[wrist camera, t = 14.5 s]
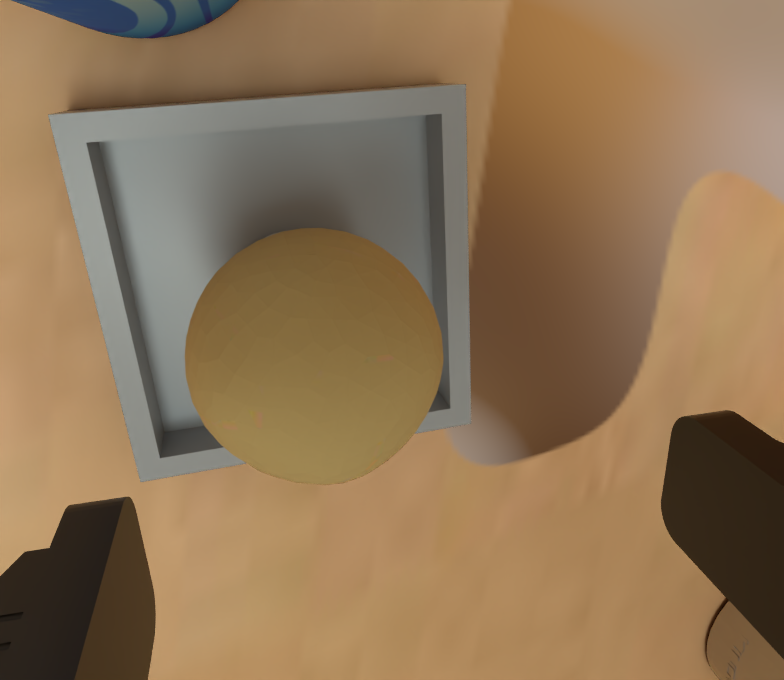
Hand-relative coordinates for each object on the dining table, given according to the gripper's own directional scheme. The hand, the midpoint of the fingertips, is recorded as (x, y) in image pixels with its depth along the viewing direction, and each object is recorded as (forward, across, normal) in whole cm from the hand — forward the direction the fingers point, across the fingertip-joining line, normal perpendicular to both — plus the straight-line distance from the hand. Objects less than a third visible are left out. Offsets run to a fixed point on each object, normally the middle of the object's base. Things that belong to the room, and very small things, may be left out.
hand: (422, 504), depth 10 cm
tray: (+15, +1, +1) cm, 15 cm away
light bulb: (+15, +1, +1) cm, 15 cm away
